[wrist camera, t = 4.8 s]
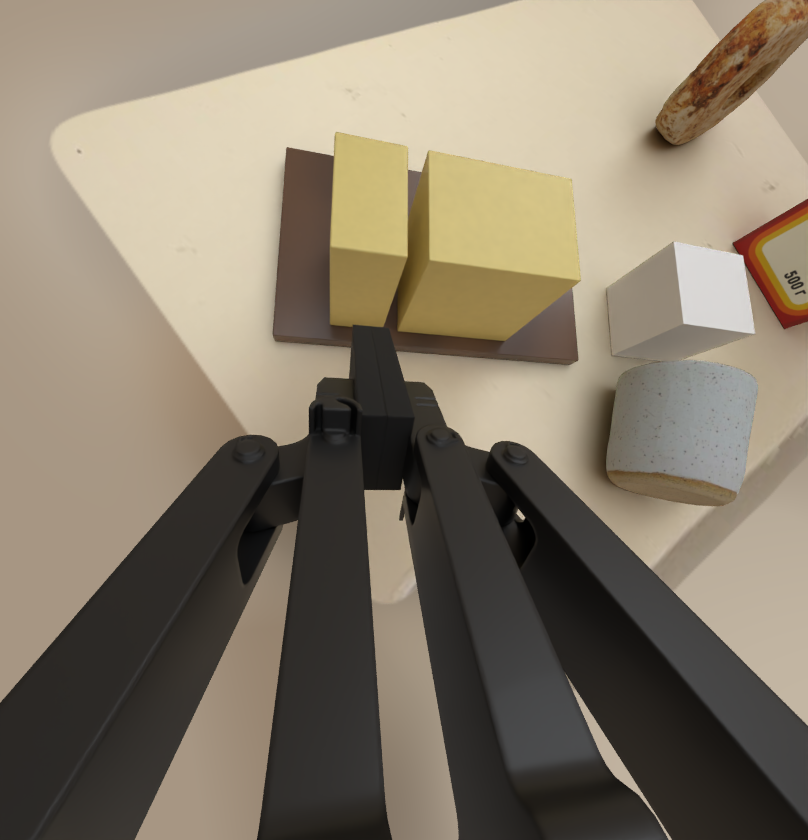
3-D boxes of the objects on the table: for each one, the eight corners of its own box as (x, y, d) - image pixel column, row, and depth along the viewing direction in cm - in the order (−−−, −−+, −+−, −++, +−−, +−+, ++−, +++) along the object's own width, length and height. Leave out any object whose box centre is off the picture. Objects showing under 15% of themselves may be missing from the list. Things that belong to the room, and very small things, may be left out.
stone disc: (651, 163, 33) (783, 34, 23) (630, 131, 33) (753, -11, 24) (717, 134, 36) (860, 6, 26) (697, 104, 36) (832, -34, 26)
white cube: (672, 362, 30) (755, 334, 24) (611, 355, 28) (683, 324, 23) (665, 297, 31) (743, 254, 25) (606, 287, 29) (674, 240, 24)
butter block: (397, 331, 24) (429, 260, 16) (397, 252, 25) (428, 149, 17) (505, 341, 25) (581, 280, 18) (501, 266, 26) (572, 178, 19)
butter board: (274, 341, 23) (272, 335, 22) (288, 159, 25) (286, 146, 24) (570, 364, 27) (578, 360, 26) (557, 207, 30) (564, 198, 29)
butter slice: (329, 325, 23) (329, 246, 15) (333, 243, 24) (334, 130, 16) (382, 330, 24) (408, 257, 16) (383, 250, 25) (408, 145, 17)
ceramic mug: (579, 481, 26) (682, 482, 18) (593, 379, 28) (692, 342, 20) (695, 515, 28) (831, 529, 20) (701, 417, 29) (828, 397, 22)
